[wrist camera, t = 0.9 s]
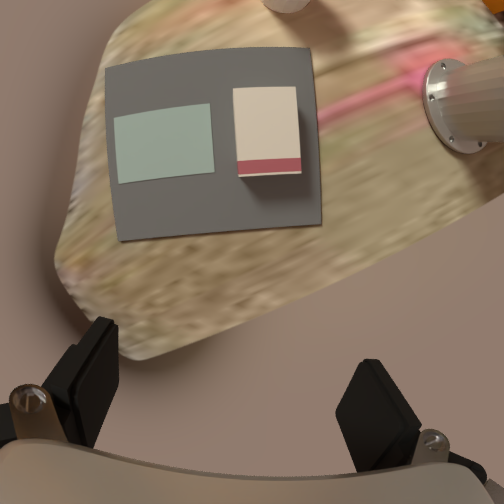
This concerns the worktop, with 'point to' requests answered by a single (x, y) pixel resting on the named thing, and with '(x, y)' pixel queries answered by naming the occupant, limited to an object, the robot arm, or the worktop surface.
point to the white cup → (285, 5)
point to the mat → (203, 144)
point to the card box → (266, 131)
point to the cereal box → (494, 5)
